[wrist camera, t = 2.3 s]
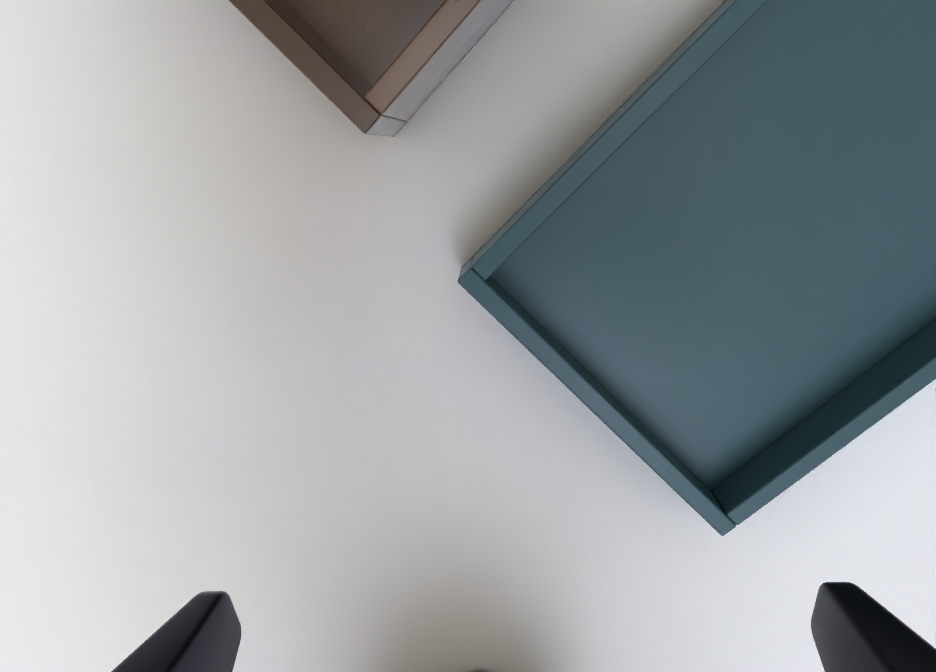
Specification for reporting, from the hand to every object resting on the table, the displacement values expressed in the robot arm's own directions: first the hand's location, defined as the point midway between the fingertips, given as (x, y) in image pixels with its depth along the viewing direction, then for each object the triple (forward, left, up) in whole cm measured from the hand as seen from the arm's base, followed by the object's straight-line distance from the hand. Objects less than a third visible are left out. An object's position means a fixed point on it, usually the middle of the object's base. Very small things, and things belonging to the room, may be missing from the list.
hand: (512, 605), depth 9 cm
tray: (+11, -3, -12) cm, 16 cm away
